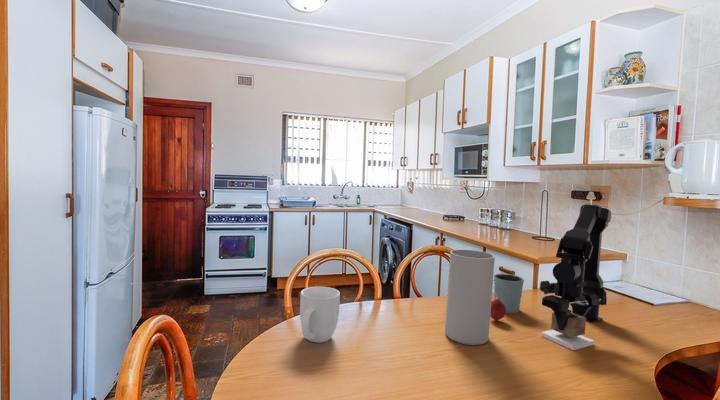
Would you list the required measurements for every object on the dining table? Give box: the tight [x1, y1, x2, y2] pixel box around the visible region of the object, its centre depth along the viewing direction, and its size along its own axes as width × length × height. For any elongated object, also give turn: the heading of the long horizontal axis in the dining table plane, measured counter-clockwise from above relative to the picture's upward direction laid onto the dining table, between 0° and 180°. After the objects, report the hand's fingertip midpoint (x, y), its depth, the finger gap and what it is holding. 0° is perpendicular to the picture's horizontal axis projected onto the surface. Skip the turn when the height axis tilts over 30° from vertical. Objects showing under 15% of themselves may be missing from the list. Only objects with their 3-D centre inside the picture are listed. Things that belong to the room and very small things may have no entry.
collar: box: [550, 311, 587, 337], centre depth 110 cm, size 6×6×5 cm
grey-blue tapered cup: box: [493, 273, 525, 314], centre depth 135 cm, size 10×10×12 cm
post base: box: [540, 329, 595, 351], centre depth 110 cm, size 10×10×6 cm
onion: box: [490, 297, 507, 322], centre depth 123 cm, size 6×6×8 cm
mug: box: [299, 286, 341, 343], centre depth 101 cm, size 15×11×13 cm
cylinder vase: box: [444, 249, 496, 346], centre depth 108 cm, size 12×12×25 cm
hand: (568, 328), depth 110 cm, fingers closed on collar, 6 cm apart
